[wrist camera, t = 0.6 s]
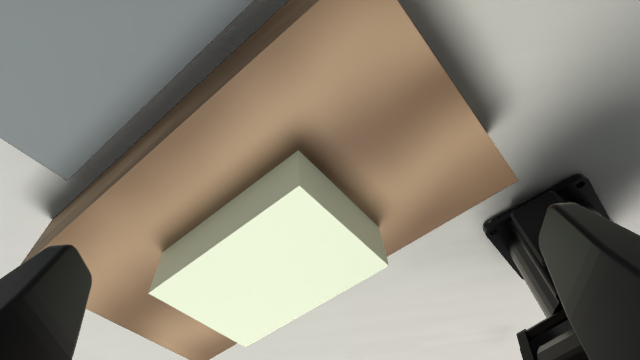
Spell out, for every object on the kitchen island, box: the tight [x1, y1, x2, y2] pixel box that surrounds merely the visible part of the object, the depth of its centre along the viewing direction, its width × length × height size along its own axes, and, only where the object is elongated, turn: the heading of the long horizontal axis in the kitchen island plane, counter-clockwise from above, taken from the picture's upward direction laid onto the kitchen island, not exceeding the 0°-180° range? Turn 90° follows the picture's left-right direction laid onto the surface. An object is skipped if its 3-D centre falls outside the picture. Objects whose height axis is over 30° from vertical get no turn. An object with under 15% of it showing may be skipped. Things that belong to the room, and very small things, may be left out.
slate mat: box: [0, 0, 254, 180], centre depth 17 cm, size 11×15×1 cm
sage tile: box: [149, 150, 389, 347], centre depth 19 cm, size 6×9×2 cm, turn 130°
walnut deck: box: [21, 0, 519, 360], centre depth 22 cm, size 12×22×4 cm, turn 130°
